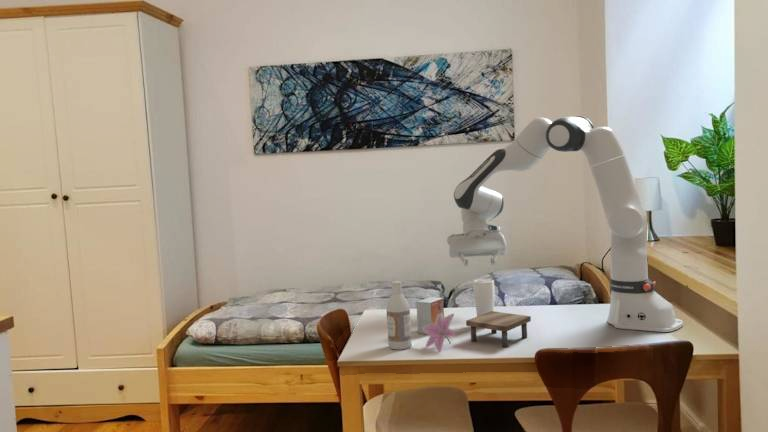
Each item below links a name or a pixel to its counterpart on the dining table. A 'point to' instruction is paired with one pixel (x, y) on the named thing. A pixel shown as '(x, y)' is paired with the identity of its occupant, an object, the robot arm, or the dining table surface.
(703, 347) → the dining table surface
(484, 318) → the shelf stand
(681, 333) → the dining table surface
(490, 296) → the white tall cup
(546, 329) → the dining table surface
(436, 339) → the lily
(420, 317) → the small box
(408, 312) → the bath foam
